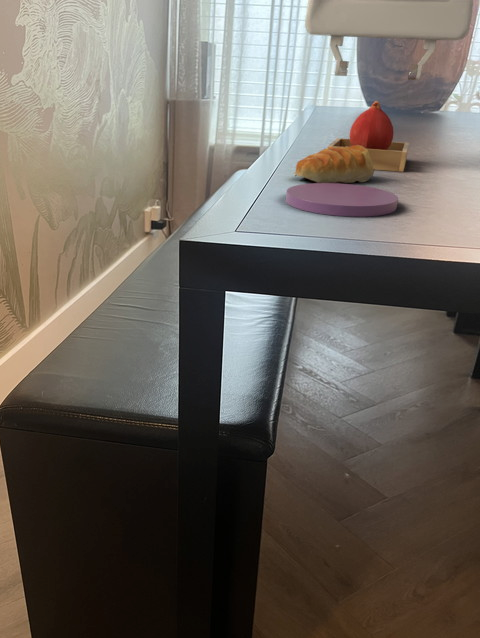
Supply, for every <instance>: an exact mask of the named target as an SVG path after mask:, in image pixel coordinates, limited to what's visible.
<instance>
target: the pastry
mask: <svg viewBox="0 0 480 638" xmlns="http://www.w3.org/2000/svg"><path fill="white" fill-rule="evenodd" d="M374 173H375V170H374V167H373V164H372V160H371V158H370V156H369V151H368V150H367V149H366V148H364V147H363V146H360V145H354V146H351V147H347V146H346V147H329V148H328V147H327V148H324V149H321V150H319V151H317V152H316V153H313V154H308V155H307V156H306V157H304V158H302V159H300V160H299V161H297V162H296V165H295V172H294V177H295V178H296V177H297V176H298V177H301V178H305V179H308V180H310V181H313V182H315V183H338V184H339V183H343V184H353V183H355V182H358V183H366V182H368V181H369V180H370V178H371V177H372V176H373V175H374Z"/></svg>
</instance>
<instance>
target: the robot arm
mask: <svg viewBox="0 0 480 638" xmlns="http://www.w3.org/2000/svg"><path fill="white" fill-rule="evenodd" d="M473 8H474V0H308V2H307V7H306V12H305V13H306V14H305V20H304V28H305V29H306V31H307V33H308V34H309V35H310V36H321V37H322V36H323V37H330V42H329V46H330V49H331V52H332V55H333V57H334V60H335V67H334V68H335V70H334V76H337V77H338V76H339V77H347V76H348V72H349V70H348V68H349V64H350V61H347V60H344V59H343V56H342V53H341V51H340V48H339V47H343V46H344V45H343V44H344V38H346V37H348V38H369V39H370V38H374V39H375V38H376V39H397V40H421V41H422V40H424V42H423V50H424V51H426V52H425V53H424V55H423V56H422V57H421V59H420V60H419V61H418V62H417V64H414V63H413V64H410V66H409V71H410V72H409V73H408V78H407V79H408V80H410V81H420V80H421V75H422V71H423V66H424V65H425V64H426V63H427V61H428V60H429V59H430V58H431V56H432V55H433V53H434V52H435V50H436V45H437V42H438V41H447V42H448V41H449V42H460V41H462V40H463V39H465V38H466V37H467V36H468V34H469V32H470V28H471V23H472V16H473Z"/></svg>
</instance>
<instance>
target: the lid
mask: <svg viewBox="0 0 480 638" xmlns="http://www.w3.org/2000/svg"><path fill="white" fill-rule="evenodd" d="M285 202H286V204H287V205H289V206H290V207H293V208H295V209H297V210H301V211H304V212H308V213H312V214H320V215H326V216H334V217H349V218H350V217H351V218H353V217H354V218H357V217H358V218H361V217H362V218H363V217H364V218H365V217H366V218H367V217H368V218H369V217H381V216H384V215H388V214H389V215H390V214H392V213H394V212H396V210H397V207H398V202H399V197H398V195H396V194H395V193H393V192H390V191H388V190H385V189H381V188H378V187H372V186H366V185H358V184H353V183H339V182H338V183H317V182H313V183H303V184H302V183H301V184H297V185H293V186H289V187H288V188H287V189H286V193H285Z"/></svg>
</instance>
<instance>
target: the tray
mask: <svg viewBox="0 0 480 638" xmlns="http://www.w3.org/2000/svg"><path fill="white" fill-rule="evenodd" d="M346 146H347V147H351V143H350V138H345V137H341V138H340V137H336V139H335V140H333V142H331V143H330V144H329V145H328V146H327V148H329V147H346ZM409 147H410V142H403V141H392V142H391V145H390V146H389V148H388V149H387V150H380V149H367V150H368V151H369V156H370V158H371V160H372V164H373V167H374V171H387V172H400V173H404V170H405V167H406V163H407V157H408V152H409Z"/></svg>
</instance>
